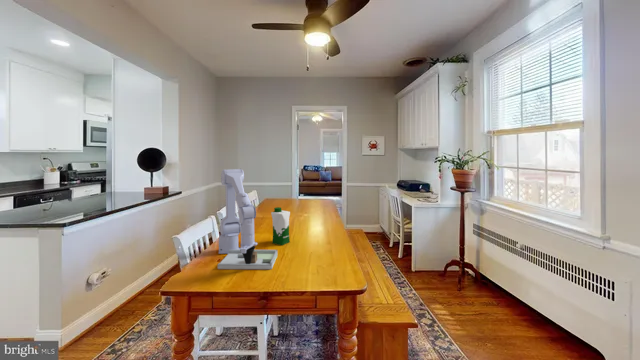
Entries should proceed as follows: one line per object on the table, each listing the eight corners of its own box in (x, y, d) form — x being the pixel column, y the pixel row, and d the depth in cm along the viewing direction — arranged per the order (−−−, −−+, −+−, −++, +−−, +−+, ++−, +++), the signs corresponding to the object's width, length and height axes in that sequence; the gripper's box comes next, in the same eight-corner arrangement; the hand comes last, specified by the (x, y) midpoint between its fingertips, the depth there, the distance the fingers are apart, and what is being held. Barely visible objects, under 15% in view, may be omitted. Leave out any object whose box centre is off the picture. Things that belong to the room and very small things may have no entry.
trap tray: (217, 268, 124) (217, 262, 124) (229, 255, 140) (229, 249, 140) (271, 269, 124) (271, 262, 124) (277, 255, 140) (277, 249, 140)
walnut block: (246, 263, 126) (246, 254, 126) (248, 259, 130) (248, 251, 130) (255, 263, 126) (255, 254, 126) (257, 259, 130) (257, 251, 130)
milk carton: (280, 239, 166) (279, 206, 164) (292, 242, 161) (291, 207, 159) (270, 243, 158) (269, 208, 156) (282, 246, 154) (282, 210, 152)
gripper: (252, 238, 115) (253, 270, 116) (260, 228, 129) (260, 257, 131) (235, 238, 115) (236, 270, 116) (245, 228, 129) (245, 257, 131)
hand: (248, 263), depth 123 cm, fingers closed
